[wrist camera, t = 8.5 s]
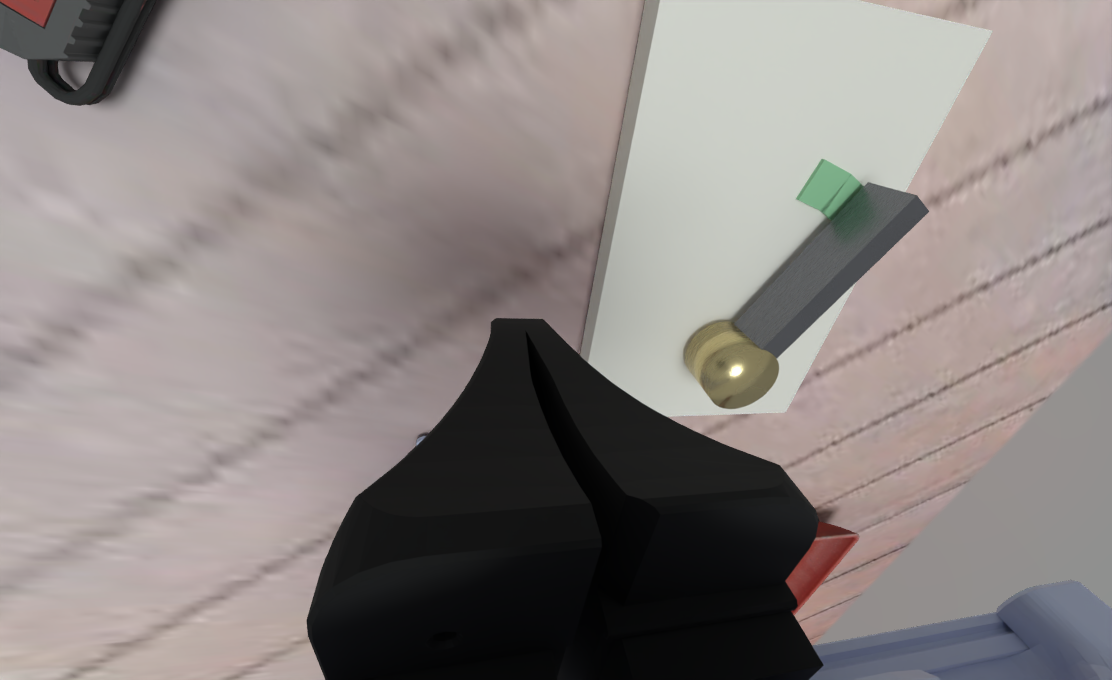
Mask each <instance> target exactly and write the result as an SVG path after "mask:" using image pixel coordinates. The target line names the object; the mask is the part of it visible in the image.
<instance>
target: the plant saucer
mask: <svg viewBox="0 0 1112 680" xmlns="http://www.w3.org/2000/svg"><path fill="white" fill-rule="evenodd" d="M858 540H859V535H858V534H856V533H854V532H852V531H849V530H846V529H844V528H841V527H838V526H834V525H831V524H827V523H823V522H819V523H818V529H817V534H816V538H815V540H814V542H813V543H812V545H811V547H810V549H809V550H808V551H807V553H806V554H805V555H804V557H803V558H802V559H801V561H800V562H799V563H798V565H797V566H796V567H795V569H794V570H793V571H792V573H791V574H790V575H789V577H788V578H787V579H786V581H785V582H786V583H787V585H788V586H789V588H790V590H791V591H792V593H793V594H794V596H795V597H796V599H797V603H798V607H797V608H796V609H795V610H794V611H791V612H792V613H793V615H795V614H796V613H797V612H798V610H799V609H800V608H801V607H802V606H803V605H804V604H805V602H806V601H807V600H808V599H809V598H810V596H811V595H812V594H813V593H814V592H815V591H816V590H817V588H818V587H819V586H820V585H821V584H822V583H823V582H824V580H825V579H826V578H827V577H828V575H829V574H830V573H831V572H832V571H833V570H834V568H835V567H836V566H837V565H838V564H839V563H840V562H841V560H842V559H843V558H844V557H845V555H846V554H847V553H848V552H849V551H850V549H851V548H852V547H853V546H854V545H855V543H856V542H857V541H858Z"/></svg>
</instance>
